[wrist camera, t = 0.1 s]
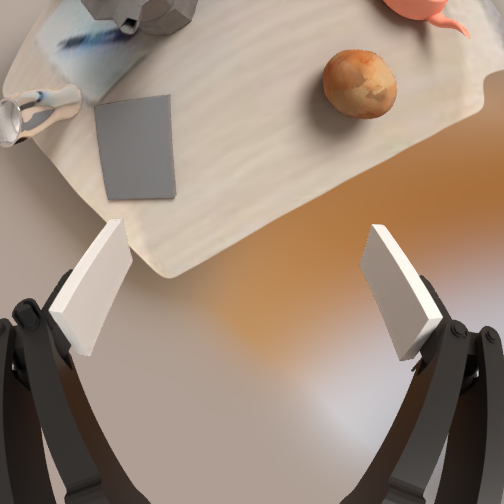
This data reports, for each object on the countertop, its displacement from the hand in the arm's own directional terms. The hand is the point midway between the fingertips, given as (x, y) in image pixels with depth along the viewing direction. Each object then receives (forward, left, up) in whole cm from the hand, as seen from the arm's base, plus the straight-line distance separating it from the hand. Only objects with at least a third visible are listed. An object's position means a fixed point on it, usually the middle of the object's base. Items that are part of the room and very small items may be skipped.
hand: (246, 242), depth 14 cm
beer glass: (-8, -29, -28) cm, 41 cm away
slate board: (+2, -17, -28) cm, 33 cm away
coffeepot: (-21, -12, -28) cm, 37 cm away
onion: (-9, +14, -28) cm, 33 cm away
